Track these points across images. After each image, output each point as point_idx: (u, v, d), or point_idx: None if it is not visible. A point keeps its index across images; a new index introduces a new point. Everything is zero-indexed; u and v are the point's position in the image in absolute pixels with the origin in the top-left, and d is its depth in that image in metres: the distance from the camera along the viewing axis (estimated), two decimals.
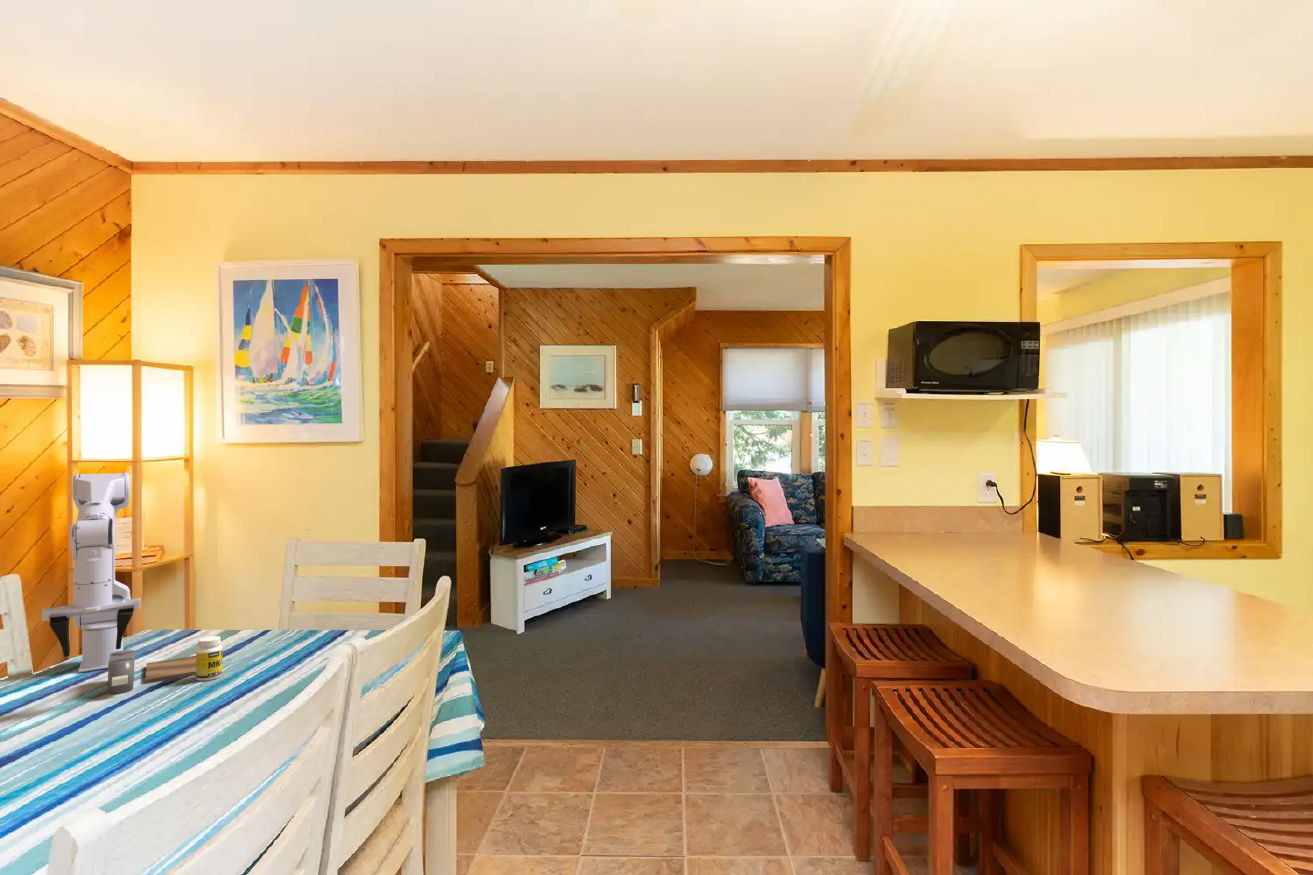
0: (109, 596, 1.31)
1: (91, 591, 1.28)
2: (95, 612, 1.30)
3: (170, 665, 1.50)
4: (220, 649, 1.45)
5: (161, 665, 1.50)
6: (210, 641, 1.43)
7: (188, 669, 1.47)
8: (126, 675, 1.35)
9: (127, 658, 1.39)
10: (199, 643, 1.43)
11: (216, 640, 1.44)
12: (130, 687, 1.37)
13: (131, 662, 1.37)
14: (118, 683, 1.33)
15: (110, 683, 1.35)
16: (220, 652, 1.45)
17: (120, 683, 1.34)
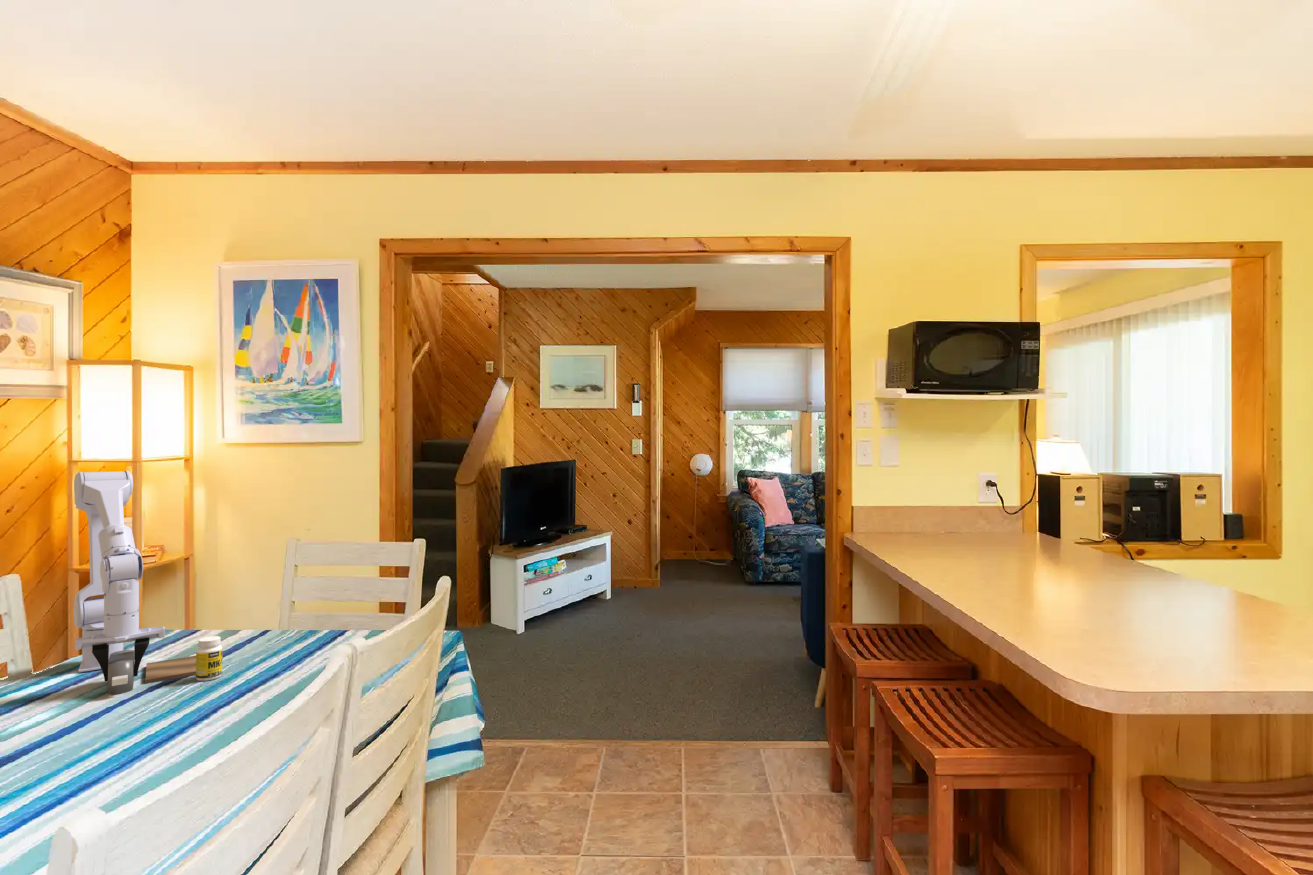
0: (136, 626, 1.40)
1: (120, 621, 1.37)
2: (123, 640, 1.40)
3: (170, 665, 1.50)
4: (220, 649, 1.45)
5: (161, 665, 1.50)
6: (210, 641, 1.43)
7: (188, 669, 1.47)
8: (126, 675, 1.35)
9: (127, 658, 1.39)
10: (199, 643, 1.43)
11: (216, 640, 1.44)
12: (130, 687, 1.37)
13: (131, 662, 1.37)
14: (118, 683, 1.33)
15: (110, 683, 1.35)
16: (220, 652, 1.45)
17: (120, 683, 1.34)
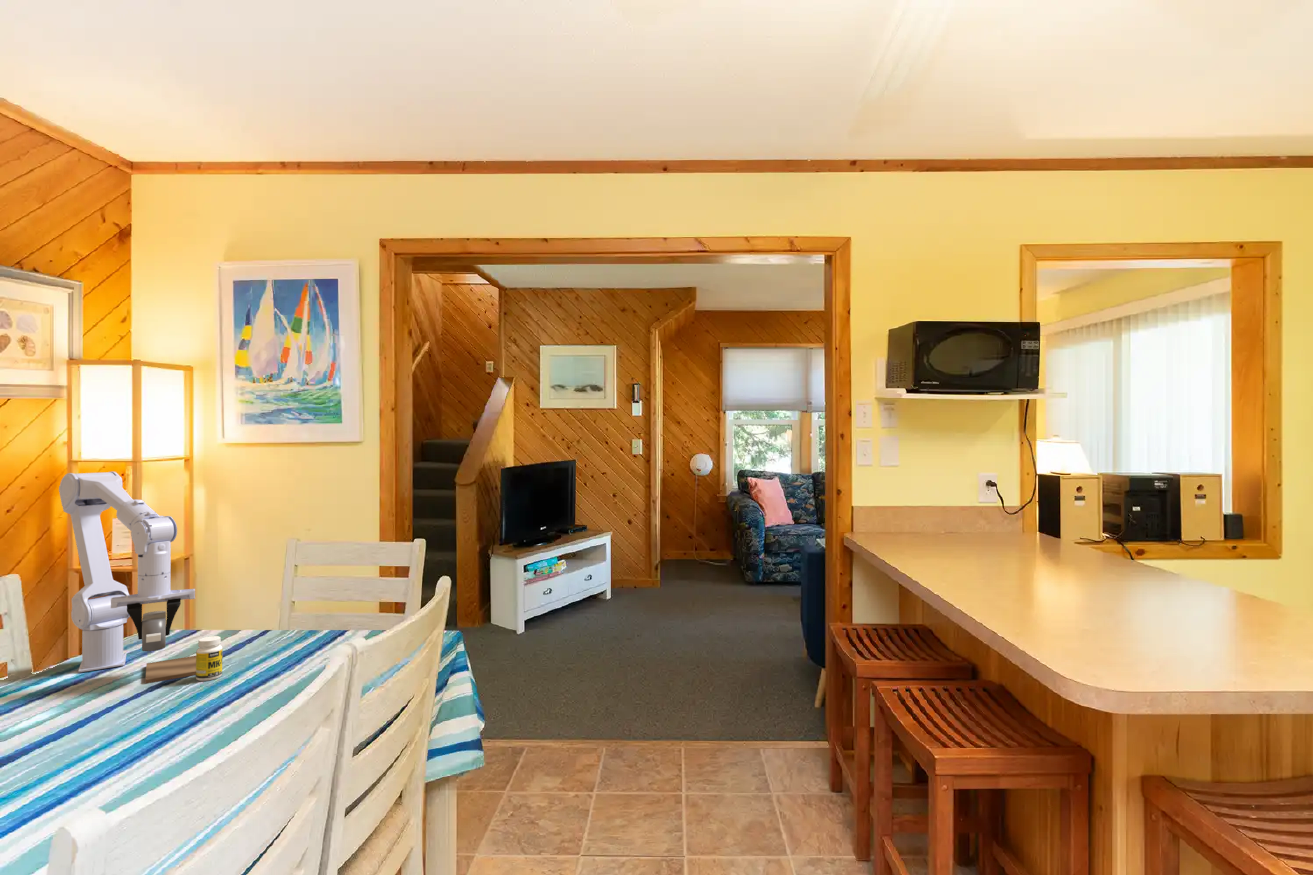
0: (168, 587, 1.46)
1: (153, 581, 1.43)
2: (156, 601, 1.45)
3: (170, 665, 1.50)
4: (220, 649, 1.45)
5: (161, 665, 1.50)
6: (210, 641, 1.43)
7: (188, 669, 1.47)
8: (159, 633, 1.41)
9: (160, 617, 1.44)
10: (199, 643, 1.43)
11: (216, 640, 1.44)
12: (163, 645, 1.42)
13: (164, 621, 1.42)
14: (152, 640, 1.39)
15: (144, 640, 1.40)
16: (220, 652, 1.45)
17: (154, 640, 1.39)
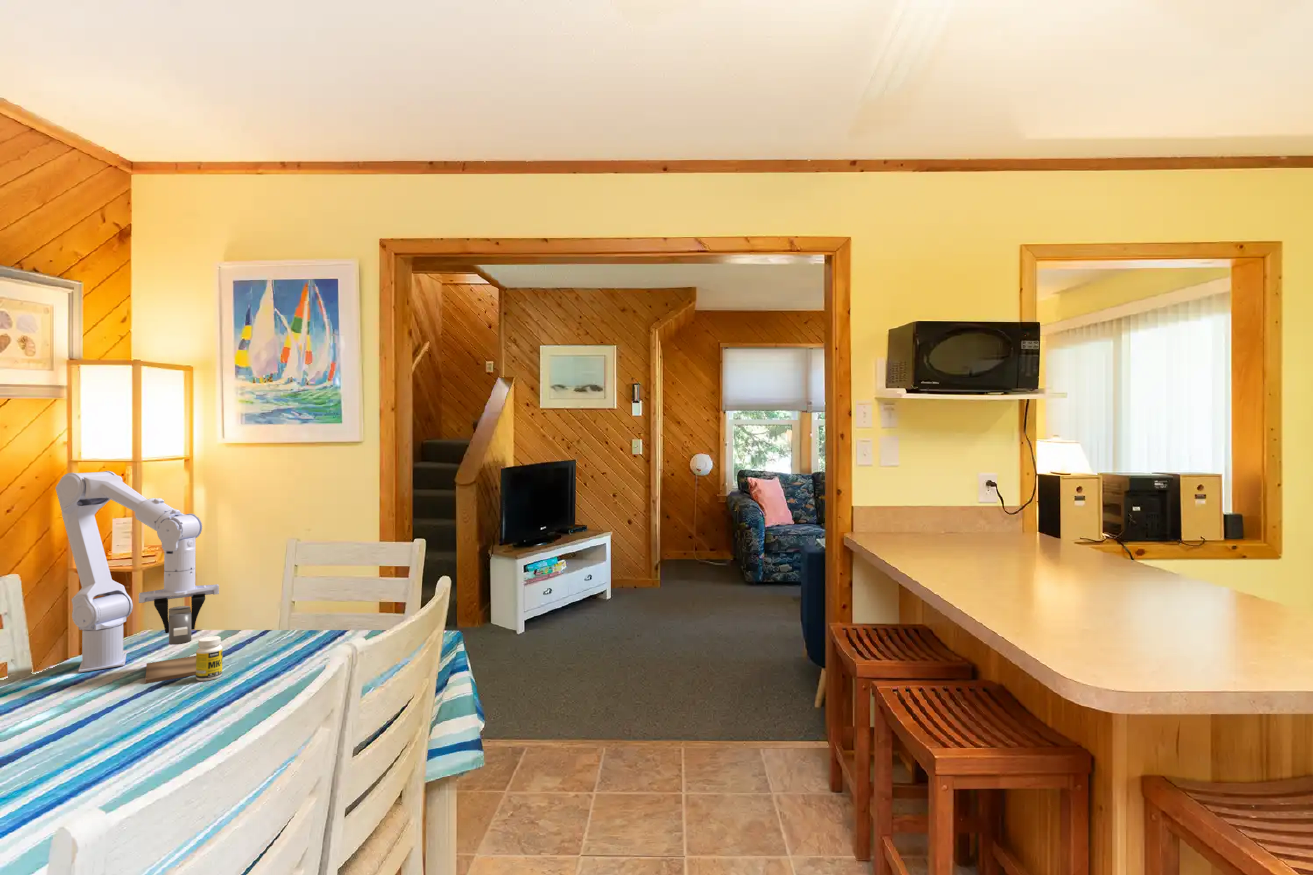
0: (194, 582, 1.50)
1: (179, 577, 1.47)
2: (181, 596, 1.50)
3: (170, 665, 1.50)
4: (220, 649, 1.45)
5: (161, 665, 1.50)
6: (210, 641, 1.43)
7: (188, 669, 1.47)
8: (186, 627, 1.45)
9: (185, 612, 1.49)
10: (199, 643, 1.43)
11: (216, 640, 1.44)
12: (189, 638, 1.47)
13: (190, 615, 1.47)
14: (179, 633, 1.43)
15: (171, 634, 1.45)
16: (220, 652, 1.45)
17: (181, 633, 1.44)
